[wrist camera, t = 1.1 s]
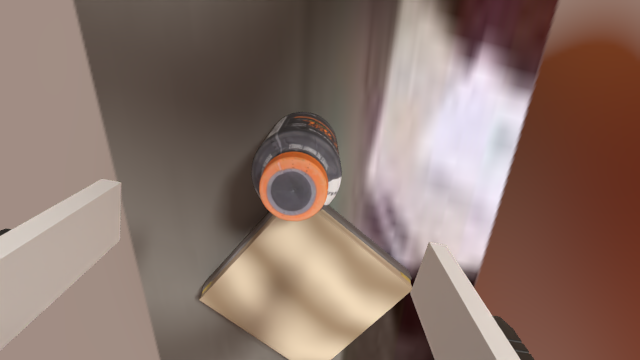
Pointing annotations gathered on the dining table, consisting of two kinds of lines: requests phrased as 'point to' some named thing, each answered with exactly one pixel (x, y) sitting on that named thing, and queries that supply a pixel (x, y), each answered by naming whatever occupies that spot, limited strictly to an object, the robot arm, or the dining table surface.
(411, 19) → the dining table surface
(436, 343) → the robot arm
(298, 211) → the pill bottle
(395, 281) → the plate
